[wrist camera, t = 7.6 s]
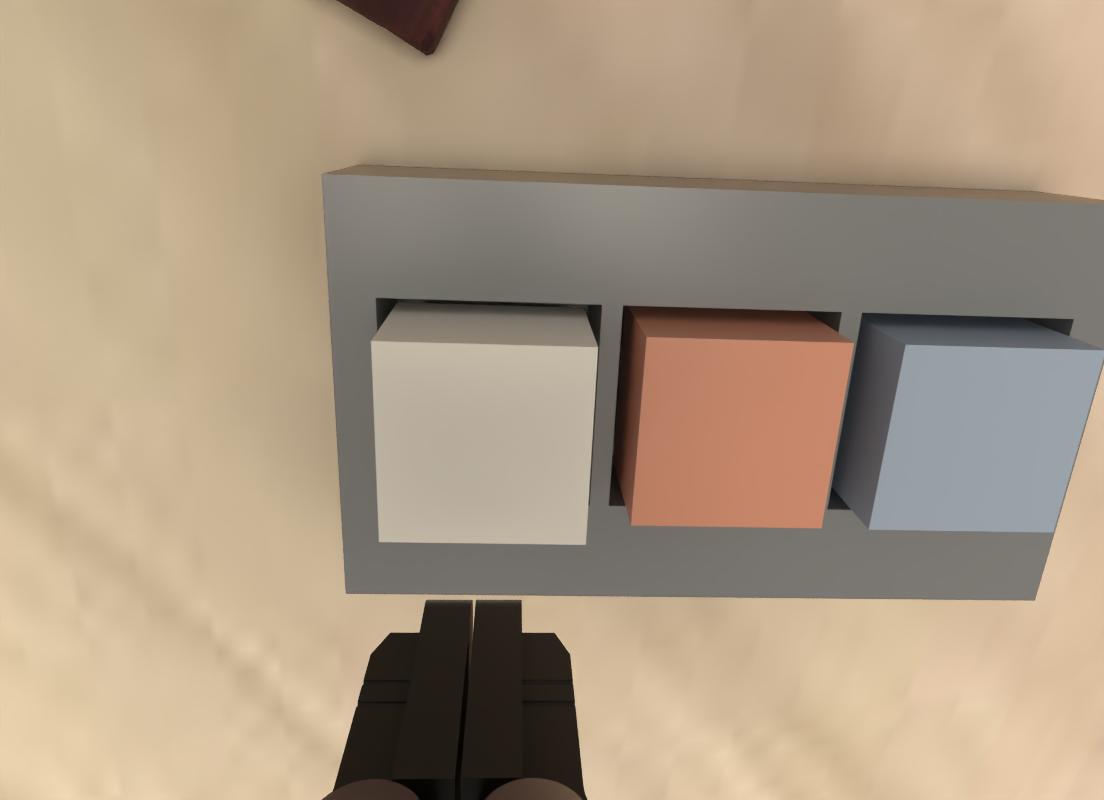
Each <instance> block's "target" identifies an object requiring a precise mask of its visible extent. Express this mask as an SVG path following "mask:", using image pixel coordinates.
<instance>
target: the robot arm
mask: <svg viewBox="0 0 1104 800" xmlns="http://www.w3.org/2000/svg"><path fill="white" fill-rule="evenodd" d="M322 800H587V798H586V795H585V792H584V787H583V778H582V768H581V758H580V748H579V738H578V728H577V718H576V708H575V699H574V689H573V679H572V669H571V659H570V654H569V652H568V651H567V650H566V648H565V647H564V645H563V644H562V643H561V641H560V640H559V639H558V637H557V636H556V634H555V633H522V605H521V600H476V606H475V617H474V629H473V601H472V600H426V603H425V607H424V613H423V618H422V623H421V628H420V633H390V634H389V635H388V636H387V637H386V638H385V639H384V640H383V642H382V643H381V644H380V645H379V646H378V647H377V648H376V649H375V650H374V652H373V653H372V654H371V655H370V659H369V663H368V666H367V670H366V674H365V677H364V684H363V685H362V688H361V692H360V695H359V699H358V706H357V707H356V710H355V714H354V717H353V721H352V724H351V728H350V732H349V735H348V739H347V743H346V746H345V750H344V753H343V757H342V761H341V764H340V768H339V772H338V775H337V779H336V782H335V786H334V789H333V792H331V793H330V794H329V795H327V796H326V797H325V798H323V799H322Z"/></svg>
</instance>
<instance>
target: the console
mask: <svg viewBox="0 0 1104 800" xmlns="http://www.w3.org/2000/svg"><path fill="white" fill-rule="evenodd" d="M322 185H323V203H324V220H325V238H326V255H327V273H328V290H329V308H330V325H331V343H332V360H333V378H334V395H335V413H336V430H337V448H338V465H339V483H340V500H341V518H342V535H343V553H344V570H345V588H346V594H437V595H537V596H637V597H736V598H836V599H935V600H1035V598H1036V595H1037V591H1038V588H1039V584H1040V581H1041V578H1042V574H1043V571H1044V567H1045V564H1046V560H1047V557H1048V554H1049V550H1050V547H1051V543H1052V540H1053V536H1054V533H1055V529H1056V526H1057V523H1058V519H1059V516H1060V512H1061V509H1062V505H1063V502H1064V498H1065V495H1066V492H1067V488H1068V485H1069V481H1070V478H1071V474H1072V471H1073V467H1074V464H1075V461H1076V457H1077V454H1078V450H1079V447H1080V443H1081V440H1082V437H1083V433H1084V430H1085V426H1086V423H1087V419H1088V416H1089V412H1090V409H1091V406H1092V402H1093V399H1094V395H1095V392H1096V388H1097V385H1098V381H1099V378H1100V375H1101V371H1102V368H1103V364H1104V359H1103V363H1102V366H1101V370H1100V373H1099V377H1098V380H1097V384H1096V387H1095V390H1094V394H1093V397H1092V401H1091V404H1090V408H1089V411H1088V415H1087V418H1086V422H1085V425H1084V428H1083V432H1082V435H1081V439H1080V442H1079V446H1078V449H1077V453H1076V456H1075V459H1074V463H1073V466H1072V470H1071V473H1070V477H1069V480H1068V484H1067V487H1066V491H1065V494H1064V497H1063V501H1062V504H1061V508H1060V511H1059V515H1058V518H1057V522H1056V525H1055V528H1054V532H988V531H921V530H869V529H868V528H867V527H866V526H865V525H864V524H863V522H862V521H861V520H860V519H859V518H858V517H857V516H856V514H855V513H854V512H853V511H852V510H851V509H850V507H849V506H848V505H847V504H846V503H845V502H844V501H843V499H842V498H841V497H840V496H839V495H838V494H837V493H836V491H835V490H834V489H833V488H832V487H831V486H832V480H833V474H834V469H835V463H836V457H837V452H838V446H839V441H840V435H841V429H842V424H843V418H844V412H845V407H846V401H847V396H848V390H849V384H850V379H851V373H852V367H853V362H854V356H855V351H856V345H857V339H858V334H859V328H860V322H861V317H862V313H891V314H924V315H957V316H990V317H1020V318H1023V319H1025V320H1028V321H1031V322H1033V323H1036V324H1038V325H1041V326H1044V327H1046V328H1049V329H1051V330H1054V331H1057V332H1059V333H1062V334H1064V335H1067V336H1070V337H1072V338H1075V339H1078V340H1080V341H1083V342H1085V343H1088V344H1091V345H1093V346H1096V347H1098V348H1101V349H1104V200H1099V199H1091V198H1083V197H1075V196H1067V195H1060V194H1052V193H1044V192H1034V191H1009V190H983V189H958V188H932V187H907V186H881V185H856V184H830V183H805V182H779V181H754V180H729V179H703V178H678V177H652V176H627V175H601V174H576V173H550V172H525V171H499V170H474V169H448V168H423V167H398V166H372V165H356V166H352V167H348V168H344V169H340V170H336V171H332V172H328V173H324V174H322ZM397 302H402V303H436V304H469V305H502V306H536V307H569V308H584V310H585V313H586V315H587V318H588V321H589V324H590V326H591V329H592V332H593V335H594V337H595V340H596V343H597V346H598V358H597V374H596V390H595V406H594V422H593V438H592V454H591V470H590V486H589V503H588V519H587V535H586V545H557V544H484V543H410V542H379V531H378V506H377V480H376V455H375V430H374V404H373V379H372V354H371V340H372V339H373V337H374V336H375V334H376V333H377V332H378V330H379V329H380V327H381V326H382V324H383V323H384V321H385V320H386V318H387V317H388V315H389V314H390V312H391V311H392V309H393V308H394V306H395V305H396V303H397ZM625 305H627V306H660V307H693V308H726V309H759V310H792V311H805V312H807V313H809V314H810V315H812V316H813V317H815V318H816V319H818V320H819V321H821V322H822V323H824V324H826V325H827V326H829V327H830V328H832V329H833V330H835V331H836V332H838V333H839V334H841V335H843V336H844V337H846V338H847V339H849V340H850V341H852V342H853V343H854V346H853V352H852V358H851V363H850V369H849V375H848V380H847V386H846V392H845V397H844V403H843V409H842V414H841V420H840V426H839V431H838V437H837V443H836V449H835V454H834V460H833V466H832V471H831V477H830V483H829V488H828V494H827V500H826V505H825V511H824V517H823V522H822V528H764V527H697V526H631V524H630V520H629V517H628V513H627V510H626V506H625V503H624V499H623V496H622V492H621V489H620V485H619V482H618V478H617V474H616V471H615V467H614V464H613V458H614V444H615V430H616V416H617V403H618V389H619V375H620V361H621V348H622V334H623V320H624V306H625Z"/></svg>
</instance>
